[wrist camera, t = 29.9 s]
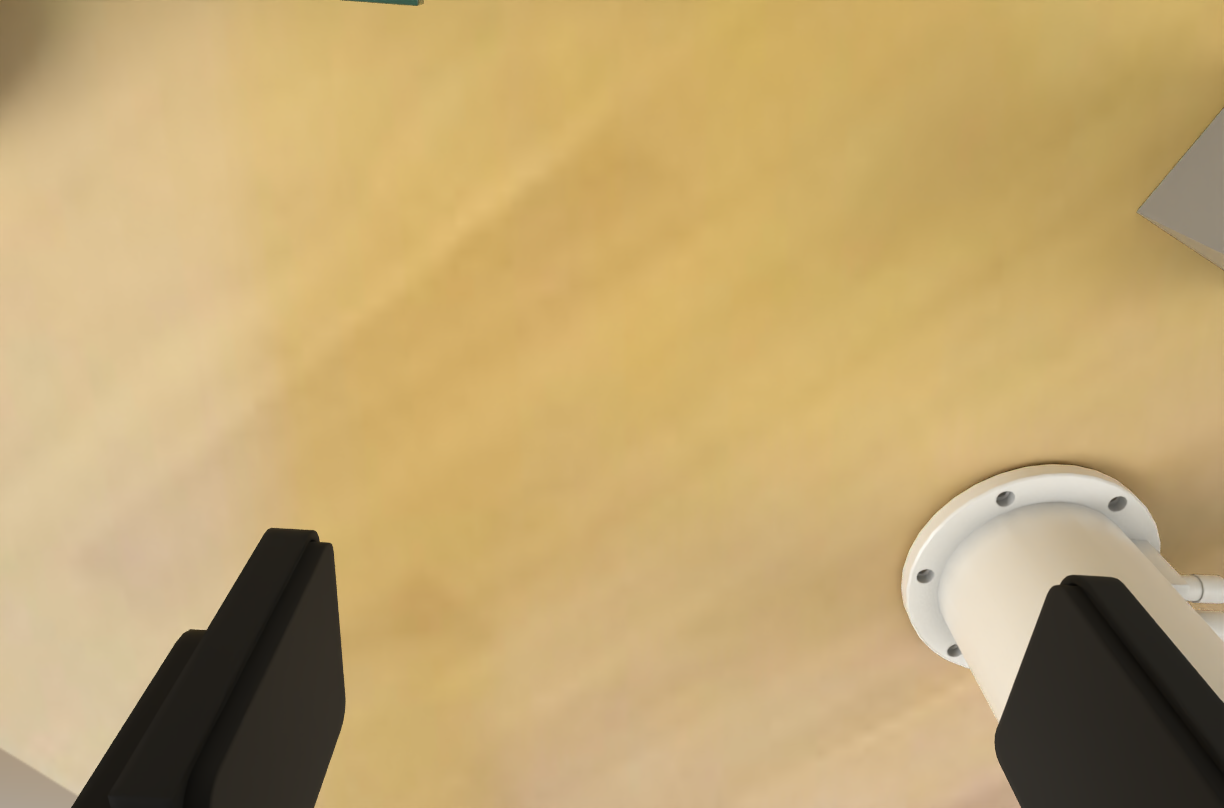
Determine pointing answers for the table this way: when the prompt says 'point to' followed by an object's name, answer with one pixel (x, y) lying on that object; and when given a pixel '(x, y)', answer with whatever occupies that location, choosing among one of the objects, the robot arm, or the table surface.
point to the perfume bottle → (1194, 196)
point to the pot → (394, 2)
